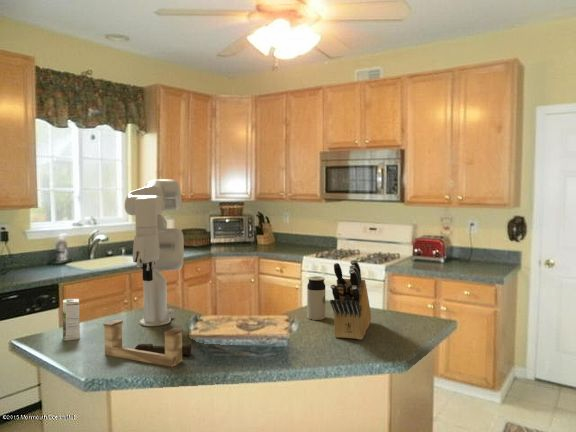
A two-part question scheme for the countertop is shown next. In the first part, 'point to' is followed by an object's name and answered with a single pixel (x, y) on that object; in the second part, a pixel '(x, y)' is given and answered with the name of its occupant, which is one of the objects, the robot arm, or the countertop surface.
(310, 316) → the travel mug
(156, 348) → the hand tool
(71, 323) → the syrup box
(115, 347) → the wooden u-shaped stand
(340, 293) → the knife block
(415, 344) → the countertop surface
